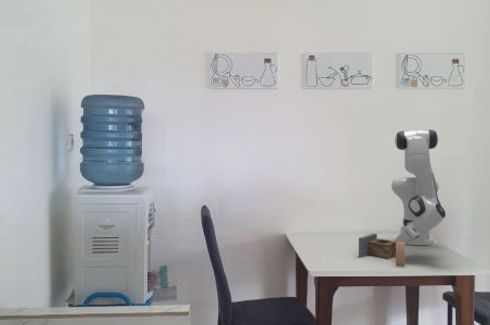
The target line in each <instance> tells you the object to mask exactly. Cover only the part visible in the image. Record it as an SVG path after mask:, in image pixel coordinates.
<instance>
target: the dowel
mask: <svg viewBox="0 0 490 325" xmlns="http://www.w3.org/2000/svg"><path fill="white" fill-rule="evenodd" d="M405 263H406V244H405V243H404V242H396V256H395V265H396V266H398V267H404V266H405V265H406V264H405Z"/></svg>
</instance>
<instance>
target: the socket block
mask: <svg viewBox="0 0 490 325" xmlns="http://www.w3.org/2000/svg"><path fill="white" fill-rule="evenodd" d="M367 256H371V257H376V258H381V259H386V260H388V259H391V258H394V257H396V242H395V240H391V239H385V238H378V237H377V239H375V240H372V241H369V242H368V255H367Z"/></svg>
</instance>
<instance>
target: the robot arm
mask: <svg viewBox="0 0 490 325" xmlns="http://www.w3.org/2000/svg"><path fill="white" fill-rule="evenodd" d="M438 143H439V136H438V134H437V131H436V130H434V129H414V130H412V129H411V130H406V131H404V130H402V131H398V132H397V133H396V135H395V138H394V144H395V146H396V148H397V149H398V150H401V151H404V169H405V171H406V172H408V173H409V174H412V175H414V176H413V177H411V176H401V177H395V178H394V179H393V181H392V182H391V185H390V186H391V190H392V192H393V194H395V195H396V196H397V197H398V198H399V199H400V200H401V203H402V205H403V218H402V225H403V226H401V227H400V232H399V233H400V234H398V235H397V236H396V237H395V239H394V241H395V242H404V243H405V245H409V246H410V245H411V246H431V244H433V243H434V239H433V238H430V231H431V230H432V229H434V228H436V227H437V226H439V224H440V223H441V222H443V220H444V219H445V218H446V211H445V208H443V206H442V204H441V202H440V200H439V198H438V191H439V190H440V189H439V188H440V187H439V183H438V181H437V180H436V179H435V174H434V171H433V169H432V165H431V158H430V150H433V149H435V148H436V147H437V145H438Z"/></svg>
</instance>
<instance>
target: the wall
mask: <svg viewBox="0 0 490 325" xmlns="http://www.w3.org/2000/svg"><path fill="white" fill-rule="evenodd" d="M375 239H378V234H377V233H371V234H366V235H365V236H364V235H363V236H360V237H359V238H358V257H360V258H364V257H367V256H369V255H368V242H369V241H372V240H375Z"/></svg>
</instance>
